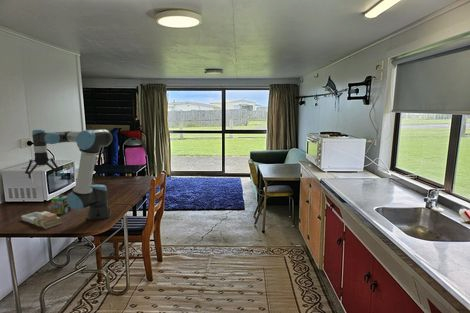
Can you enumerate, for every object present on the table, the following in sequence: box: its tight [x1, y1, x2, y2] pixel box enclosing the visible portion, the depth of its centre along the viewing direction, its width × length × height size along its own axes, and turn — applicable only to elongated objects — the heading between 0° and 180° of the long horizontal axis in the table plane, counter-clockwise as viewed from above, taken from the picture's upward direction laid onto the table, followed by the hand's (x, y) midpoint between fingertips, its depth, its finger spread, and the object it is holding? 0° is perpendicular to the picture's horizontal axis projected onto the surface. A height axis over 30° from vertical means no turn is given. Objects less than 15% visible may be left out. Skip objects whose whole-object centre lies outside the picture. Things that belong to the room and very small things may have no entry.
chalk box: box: [50, 192, 72, 215], centre depth 216 cm, size 9×9×15 cm
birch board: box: [33, 216, 63, 230], centre depth 194 cm, size 14×10×4 cm
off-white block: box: [38, 210, 51, 219], centre depth 195 cm, size 6×5×3 cm
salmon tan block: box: [44, 212, 58, 221], centre depth 191 cm, size 6×5×3 cm
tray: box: [21, 211, 40, 225], centre depth 201 cm, size 16×10×3 cm, turn 61°
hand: (43, 181), depth 206 cm, fingers open, 13 cm apart
